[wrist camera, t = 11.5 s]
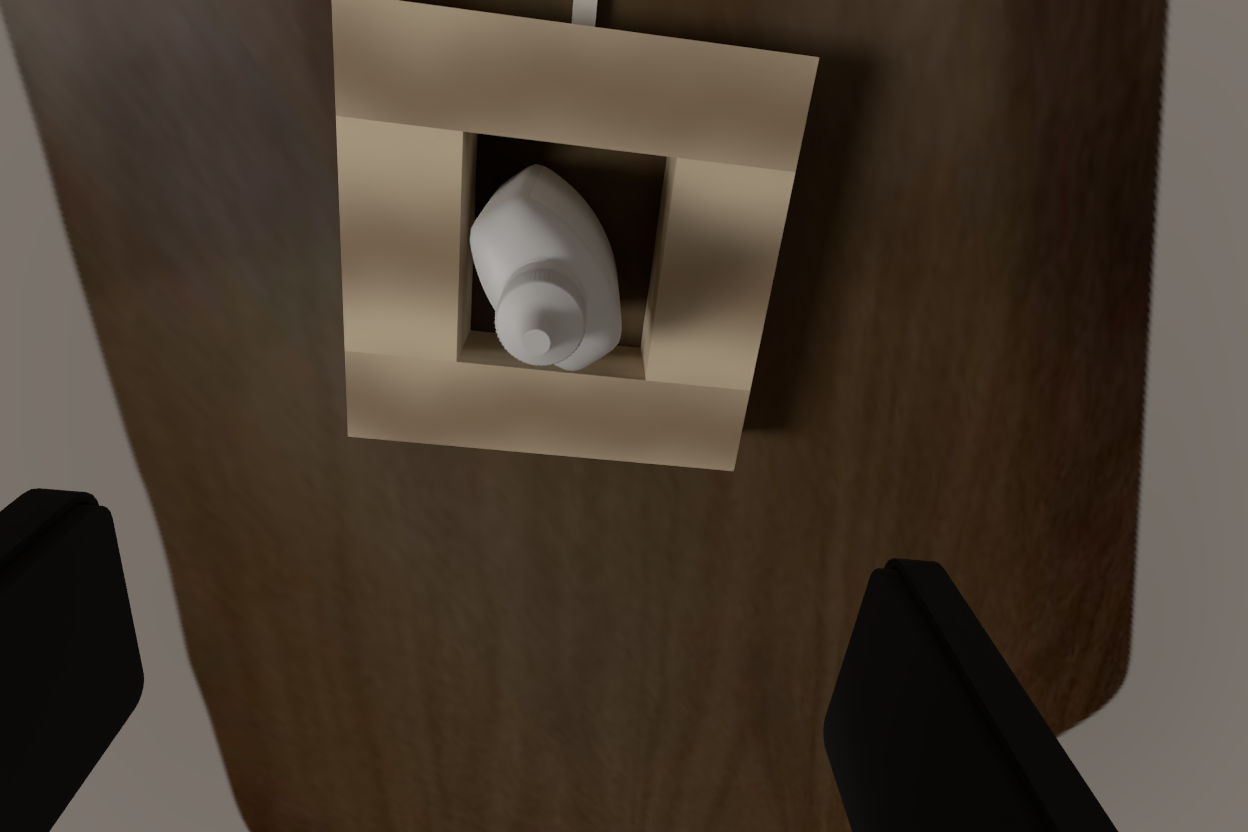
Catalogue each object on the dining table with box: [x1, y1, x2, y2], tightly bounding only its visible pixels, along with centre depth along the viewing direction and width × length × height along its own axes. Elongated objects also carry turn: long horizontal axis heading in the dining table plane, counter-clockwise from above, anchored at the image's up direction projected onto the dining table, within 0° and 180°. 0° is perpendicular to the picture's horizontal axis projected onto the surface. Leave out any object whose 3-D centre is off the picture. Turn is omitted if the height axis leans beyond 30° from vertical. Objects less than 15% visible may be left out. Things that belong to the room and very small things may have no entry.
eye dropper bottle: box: [470, 164, 622, 371], centre depth 24 cm, size 4×6×12 cm
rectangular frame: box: [332, 0, 819, 471], centre depth 28 cm, size 15×15×4 cm
